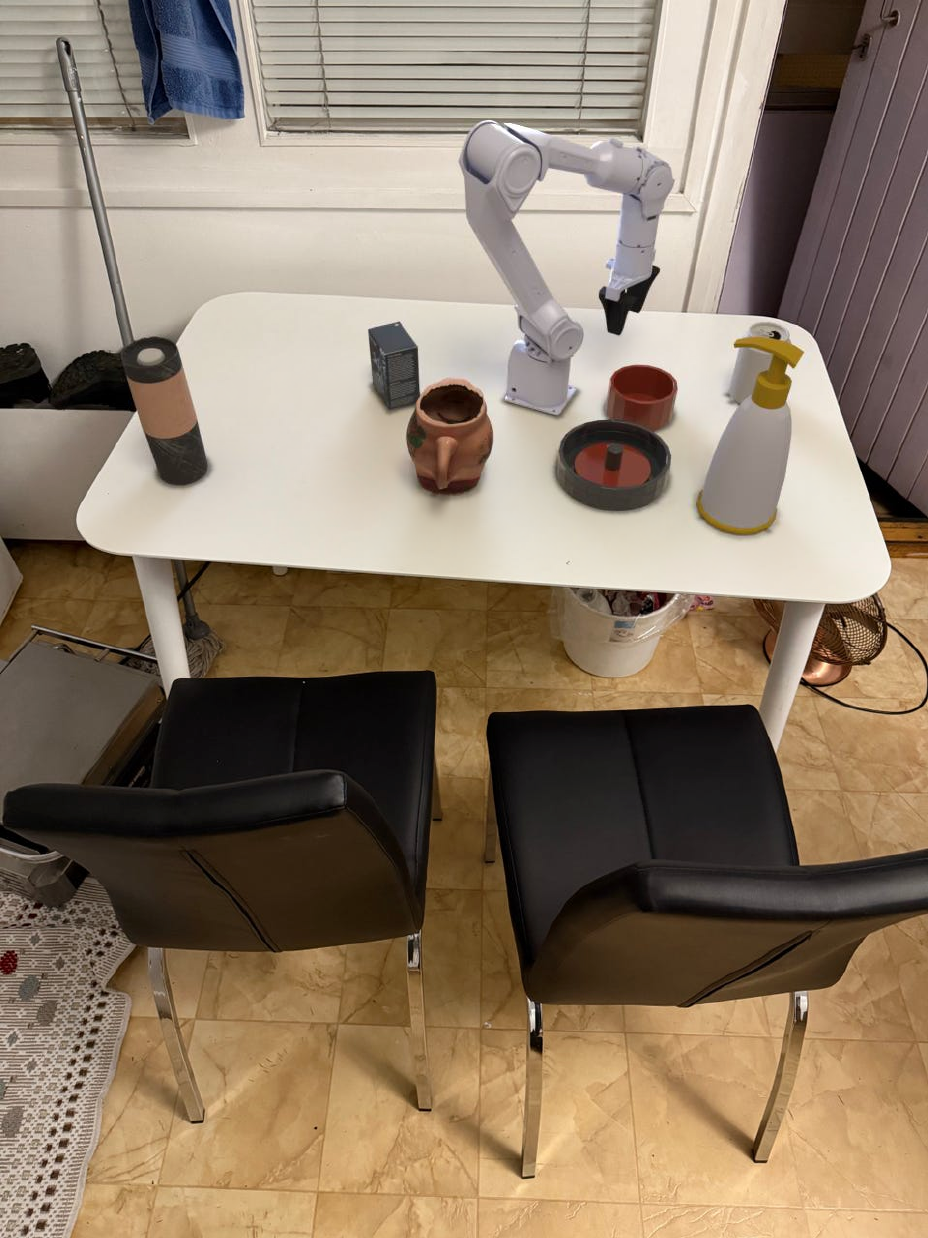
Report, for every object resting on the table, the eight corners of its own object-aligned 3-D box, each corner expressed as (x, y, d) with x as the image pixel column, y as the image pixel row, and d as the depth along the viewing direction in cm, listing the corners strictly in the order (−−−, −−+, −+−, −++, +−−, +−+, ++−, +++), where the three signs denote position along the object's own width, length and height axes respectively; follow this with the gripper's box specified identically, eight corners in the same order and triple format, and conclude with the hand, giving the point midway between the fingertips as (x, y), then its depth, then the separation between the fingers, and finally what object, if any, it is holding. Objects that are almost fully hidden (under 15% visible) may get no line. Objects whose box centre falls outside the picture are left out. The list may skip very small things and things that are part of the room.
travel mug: (219, 459, 138) (189, 342, 123) (193, 491, 133) (158, 372, 118) (174, 449, 140) (140, 331, 125) (147, 480, 135) (107, 361, 120)
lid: (559, 477, 135) (562, 453, 131) (597, 439, 141) (601, 415, 137) (626, 506, 130) (630, 483, 127) (663, 466, 136) (668, 442, 133)
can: (774, 413, 146) (795, 346, 137) (727, 407, 147) (744, 341, 138) (773, 386, 151) (793, 320, 142) (727, 381, 152) (744, 315, 143)
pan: (539, 490, 133) (541, 468, 130) (580, 429, 143) (583, 408, 140) (645, 524, 129) (649, 502, 126) (680, 458, 138) (685, 437, 135)
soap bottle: (709, 474, 136) (751, 313, 116) (786, 500, 132) (842, 338, 112) (682, 518, 129) (721, 355, 110) (761, 547, 126) (816, 383, 106)
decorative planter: (493, 529, 128) (496, 450, 118) (406, 530, 128) (401, 450, 117) (489, 441, 141) (492, 362, 131) (410, 441, 141) (406, 362, 131)
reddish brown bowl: (596, 421, 145) (600, 392, 141) (619, 386, 151) (623, 358, 147) (659, 439, 142) (665, 410, 137) (679, 403, 148) (686, 374, 144)
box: (372, 385, 151) (367, 327, 143) (404, 377, 152) (401, 320, 145) (388, 411, 146) (383, 353, 138) (421, 403, 148) (418, 345, 140)
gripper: (630, 213, 142) (619, 295, 152) (591, 252, 134) (582, 336, 144) (673, 224, 139) (659, 306, 150) (635, 264, 131) (623, 348, 141)
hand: (624, 321), depth 147 cm, fingers open, 7 cm apart
